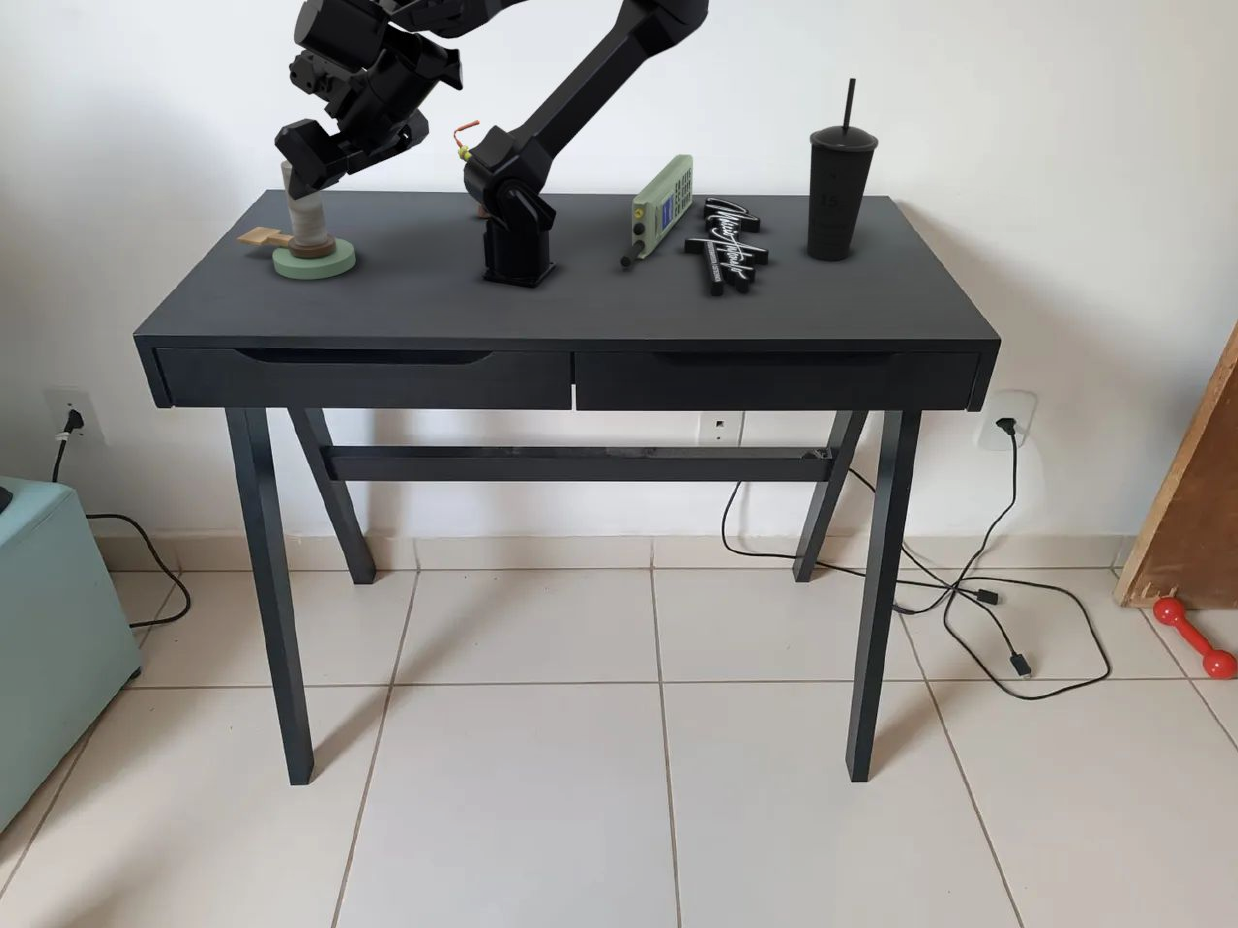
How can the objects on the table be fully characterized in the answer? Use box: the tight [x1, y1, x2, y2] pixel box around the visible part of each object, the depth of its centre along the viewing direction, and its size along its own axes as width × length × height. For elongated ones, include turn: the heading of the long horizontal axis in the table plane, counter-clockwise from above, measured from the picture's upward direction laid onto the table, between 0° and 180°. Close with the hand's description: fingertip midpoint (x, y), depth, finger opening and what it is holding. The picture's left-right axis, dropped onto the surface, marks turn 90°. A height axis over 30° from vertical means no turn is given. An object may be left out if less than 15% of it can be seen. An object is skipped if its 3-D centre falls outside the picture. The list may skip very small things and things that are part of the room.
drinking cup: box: [806, 77, 879, 262], centre depth 108 cm, size 8×8×20 cm
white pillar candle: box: [236, 159, 336, 258], centre depth 106 cm, size 11×5×10 cm, turn 71°
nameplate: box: [683, 197, 770, 297], centre depth 115 cm, size 28×2×10 cm
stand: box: [272, 237, 356, 281], centre depth 109 cm, size 9×9×2 cm
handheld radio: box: [619, 153, 694, 268], centre depth 116 cm, size 7×3×25 cm
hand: (320, 183), depth 102 cm, fingers open, 9 cm apart
